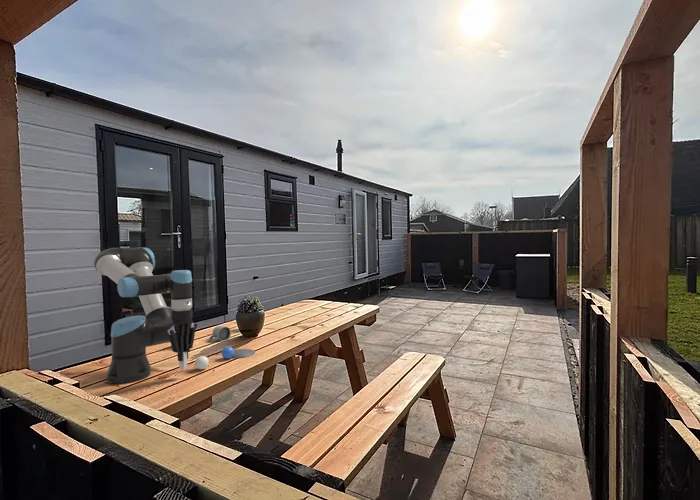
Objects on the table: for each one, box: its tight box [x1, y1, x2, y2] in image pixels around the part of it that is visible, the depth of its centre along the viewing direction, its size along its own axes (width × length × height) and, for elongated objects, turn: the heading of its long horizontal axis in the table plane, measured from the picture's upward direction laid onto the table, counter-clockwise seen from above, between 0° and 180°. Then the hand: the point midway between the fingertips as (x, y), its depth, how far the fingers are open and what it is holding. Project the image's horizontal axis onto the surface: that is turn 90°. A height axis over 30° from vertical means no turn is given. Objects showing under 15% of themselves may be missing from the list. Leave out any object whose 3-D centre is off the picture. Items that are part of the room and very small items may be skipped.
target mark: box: [230, 348, 256, 359], centre depth 172 cm, size 14×14×1 cm
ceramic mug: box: [208, 325, 232, 343], centre depth 197 cm, size 11×8×8 cm
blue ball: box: [221, 346, 235, 360], centre depth 165 cm, size 6×6×6 cm
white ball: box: [194, 355, 210, 370], centre depth 152 cm, size 6×6×6 cm
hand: (183, 368), depth 143 cm, fingers closed
